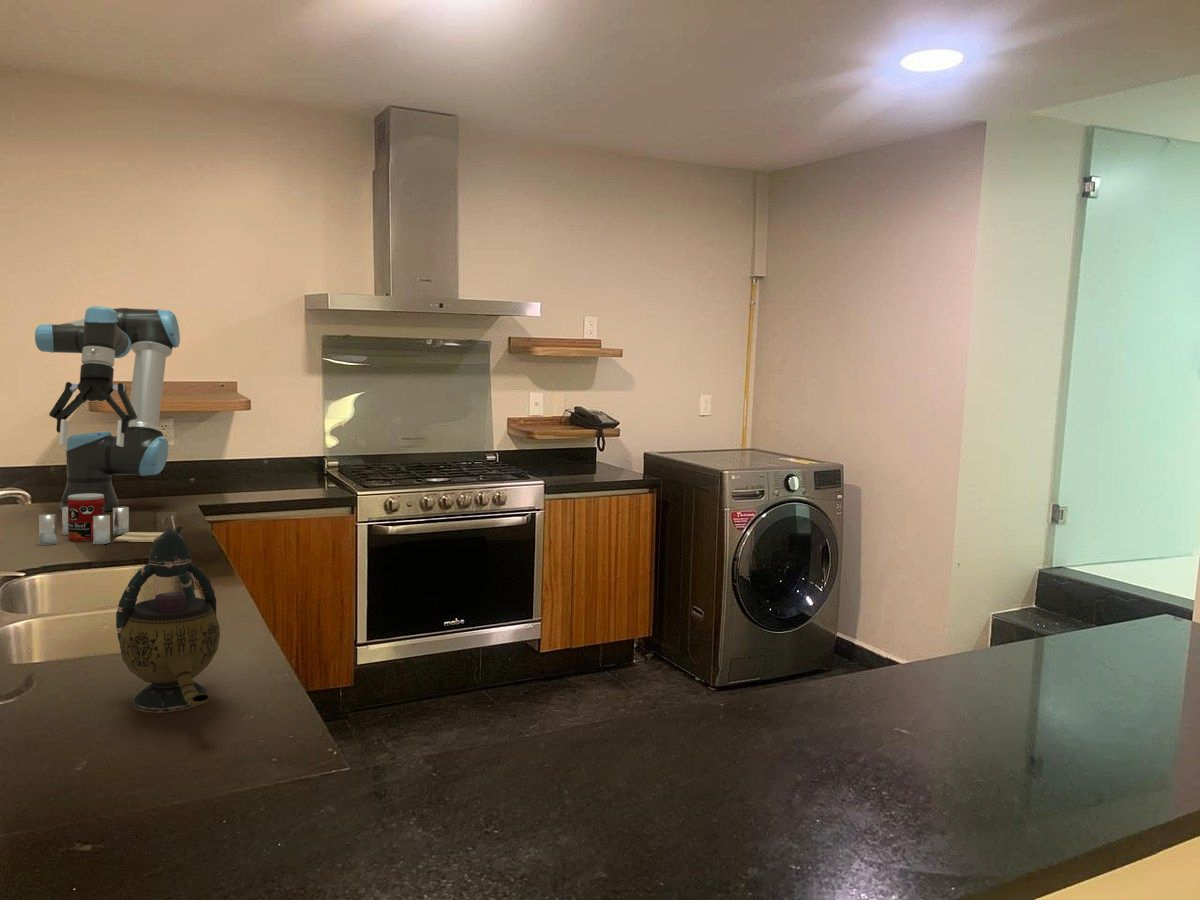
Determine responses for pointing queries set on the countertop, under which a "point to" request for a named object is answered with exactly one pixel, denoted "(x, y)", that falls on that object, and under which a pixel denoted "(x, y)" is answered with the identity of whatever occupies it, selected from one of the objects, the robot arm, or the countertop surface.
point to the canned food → (83, 514)
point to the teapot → (168, 630)
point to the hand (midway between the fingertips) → (91, 445)
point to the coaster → (139, 536)
